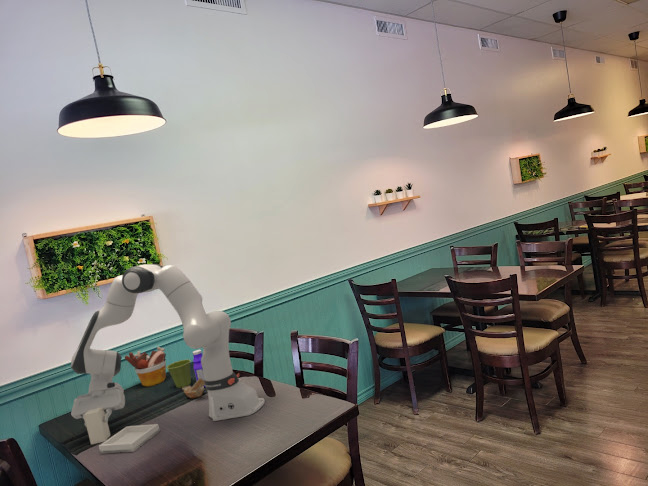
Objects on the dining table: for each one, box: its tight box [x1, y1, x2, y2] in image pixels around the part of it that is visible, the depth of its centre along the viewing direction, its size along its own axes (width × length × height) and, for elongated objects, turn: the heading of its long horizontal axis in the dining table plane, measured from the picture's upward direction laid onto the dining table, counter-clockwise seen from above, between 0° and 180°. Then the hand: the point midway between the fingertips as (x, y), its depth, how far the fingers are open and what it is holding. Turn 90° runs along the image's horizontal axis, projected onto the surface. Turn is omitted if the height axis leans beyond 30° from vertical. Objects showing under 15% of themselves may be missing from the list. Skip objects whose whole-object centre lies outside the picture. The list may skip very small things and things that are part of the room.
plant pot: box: [166, 359, 192, 389], centre depth 242 cm, size 12×12×11 cm
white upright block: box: [84, 407, 111, 445], centre depth 191 cm, size 6×6×12 cm
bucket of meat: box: [124, 346, 167, 388], centre depth 258 cm, size 20×16×20 cm
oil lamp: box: [181, 378, 205, 399], centre depth 221 cm, size 9×21×10 cm, turn 39°
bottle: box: [192, 349, 206, 388], centre depth 233 cm, size 7×6×17 cm
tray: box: [98, 423, 161, 455], centre depth 182 cm, size 15×15×3 cm
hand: (96, 423), depth 191 cm, fingers closed on white upright block, 5 cm apart
